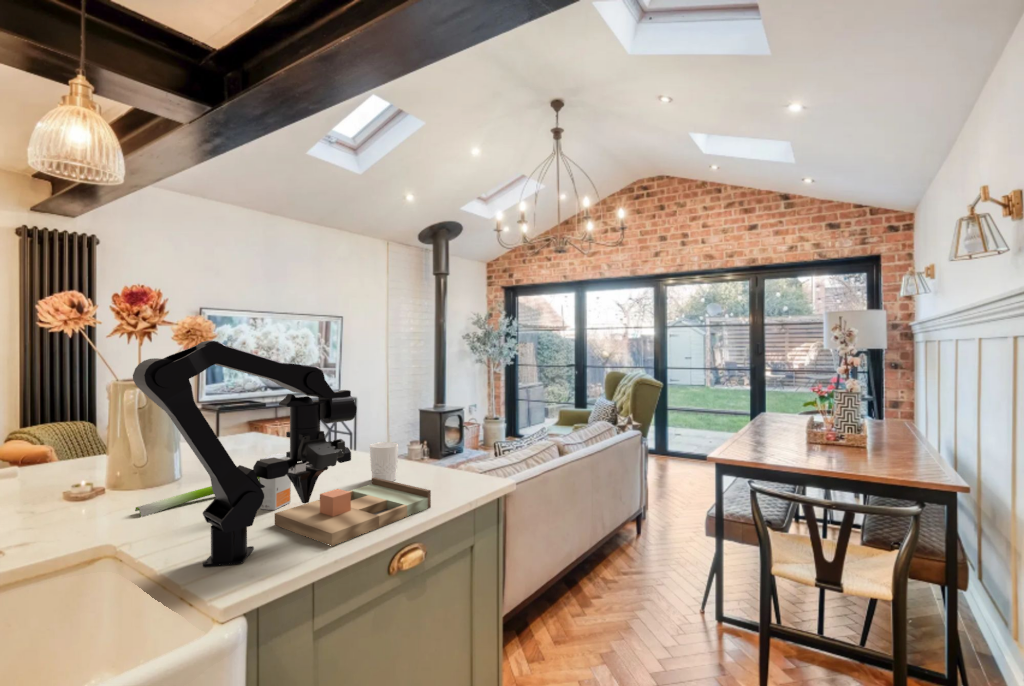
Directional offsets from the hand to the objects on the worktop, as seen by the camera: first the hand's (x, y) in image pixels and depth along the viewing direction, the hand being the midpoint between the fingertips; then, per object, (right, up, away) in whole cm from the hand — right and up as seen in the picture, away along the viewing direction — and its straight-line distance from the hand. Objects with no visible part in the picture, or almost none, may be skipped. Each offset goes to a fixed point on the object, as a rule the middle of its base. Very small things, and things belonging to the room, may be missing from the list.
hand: (305, 502), depth 100 cm
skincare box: (-14, -7, +17) cm, 23 cm away
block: (+4, -4, +6) cm, 8 cm away
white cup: (+6, -6, +39) cm, 40 cm away
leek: (-33, -7, +23) cm, 41 cm away
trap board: (+7, -6, +11) cm, 15 cm away
